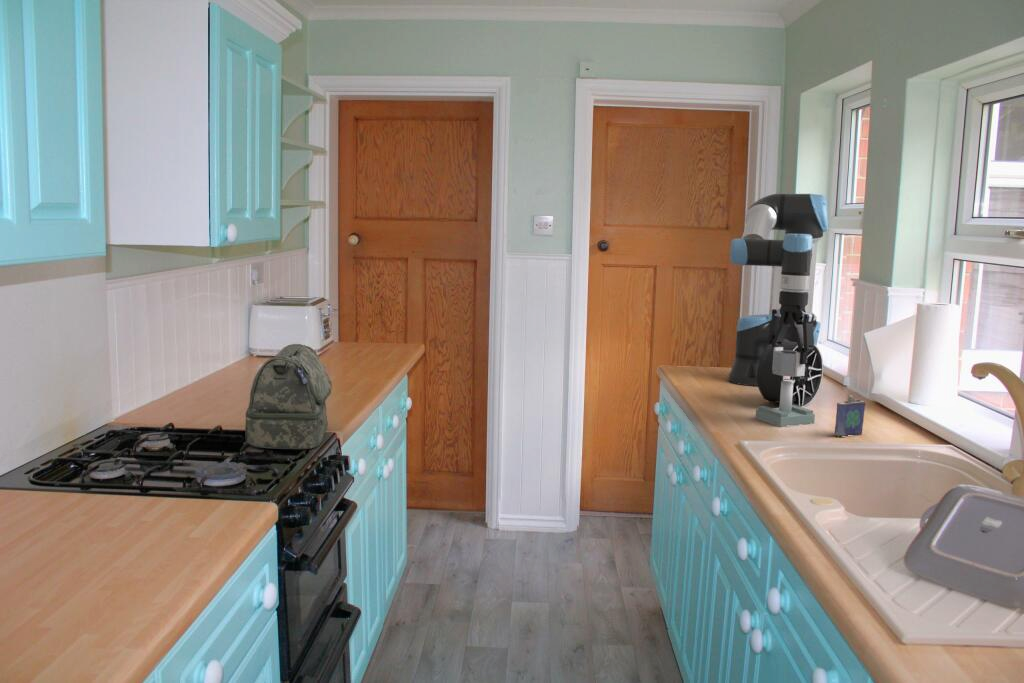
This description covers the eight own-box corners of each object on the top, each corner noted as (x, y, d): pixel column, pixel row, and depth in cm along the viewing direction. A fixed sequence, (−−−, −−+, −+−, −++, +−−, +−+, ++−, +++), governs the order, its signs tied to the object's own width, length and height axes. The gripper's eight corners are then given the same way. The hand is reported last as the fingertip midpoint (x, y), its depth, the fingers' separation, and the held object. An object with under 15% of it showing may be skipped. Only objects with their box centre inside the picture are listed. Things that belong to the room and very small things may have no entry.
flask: (839, 438, 218) (842, 397, 217) (830, 435, 221) (833, 395, 219) (864, 435, 222) (868, 394, 221) (855, 432, 225) (859, 392, 223)
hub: (788, 370, 239) (790, 349, 238) (809, 375, 232) (811, 354, 231) (766, 372, 235) (768, 350, 235) (786, 377, 228) (788, 355, 227)
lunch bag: (321, 453, 193) (320, 358, 190) (239, 453, 191) (237, 357, 188) (334, 425, 218) (334, 341, 215) (262, 424, 217) (261, 340, 214)
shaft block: (788, 415, 242) (791, 377, 241) (814, 423, 234) (817, 384, 232) (755, 418, 237) (758, 380, 236) (780, 426, 228) (783, 386, 227)
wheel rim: (780, 411, 247) (785, 343, 244) (754, 405, 254) (759, 339, 251) (820, 404, 259) (825, 339, 256) (794, 398, 266) (799, 335, 263)
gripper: (757, 287, 238) (751, 367, 241) (811, 294, 219) (805, 380, 223) (777, 287, 241) (772, 366, 244) (833, 293, 222) (826, 379, 226)
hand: (788, 372), depth 233 cm, fingers closed on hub, 8 cm apart
